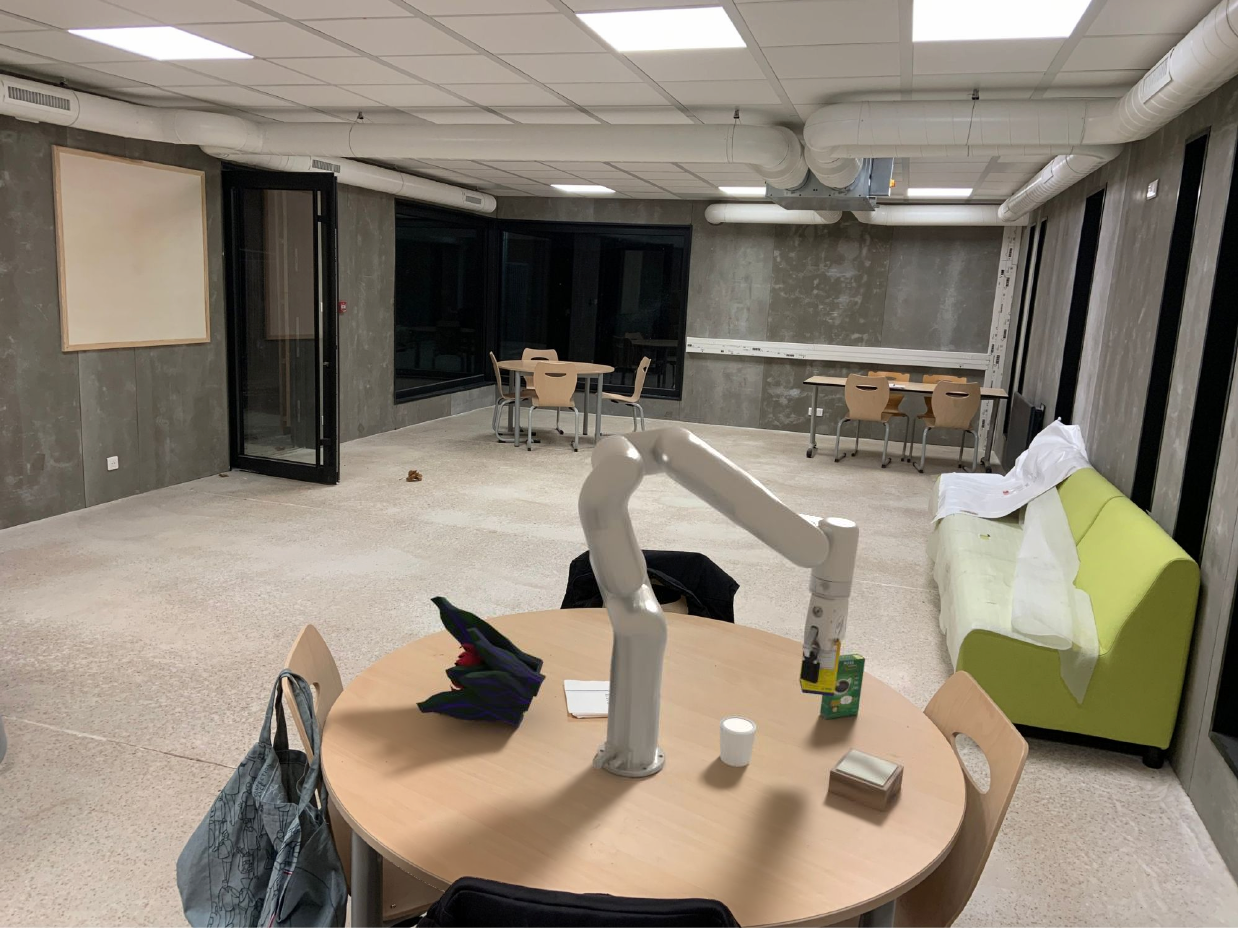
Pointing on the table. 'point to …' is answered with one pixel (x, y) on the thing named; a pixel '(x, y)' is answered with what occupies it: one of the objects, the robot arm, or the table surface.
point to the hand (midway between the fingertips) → (817, 673)
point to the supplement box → (824, 672)
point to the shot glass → (736, 740)
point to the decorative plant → (484, 672)
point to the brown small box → (866, 779)
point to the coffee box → (845, 688)
